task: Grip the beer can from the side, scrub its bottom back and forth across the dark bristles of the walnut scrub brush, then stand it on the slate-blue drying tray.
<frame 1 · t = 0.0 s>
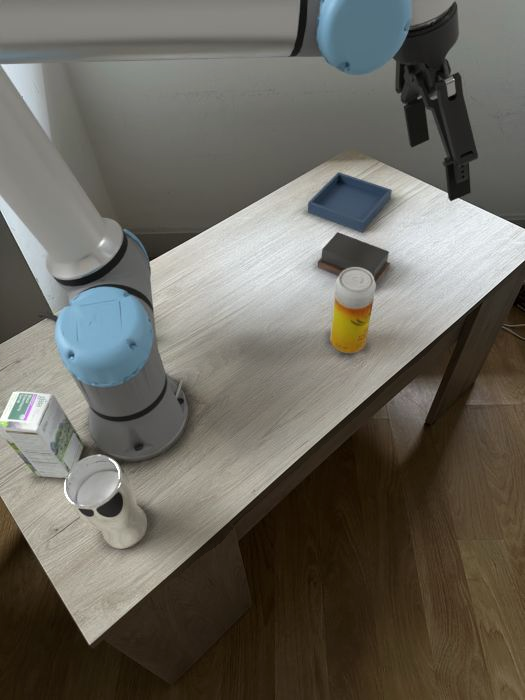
hand: (438, 167, 73), 28 cm above the table, tool tilted 20°, fingers open, 13 cm apart
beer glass: (125, 527, 71), on the table
scrub brush: (353, 268, 101), on the table
drying tray: (349, 206, 113), on the table
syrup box: (62, 461, 78), on the table
beer can: (347, 342, 90), on the table
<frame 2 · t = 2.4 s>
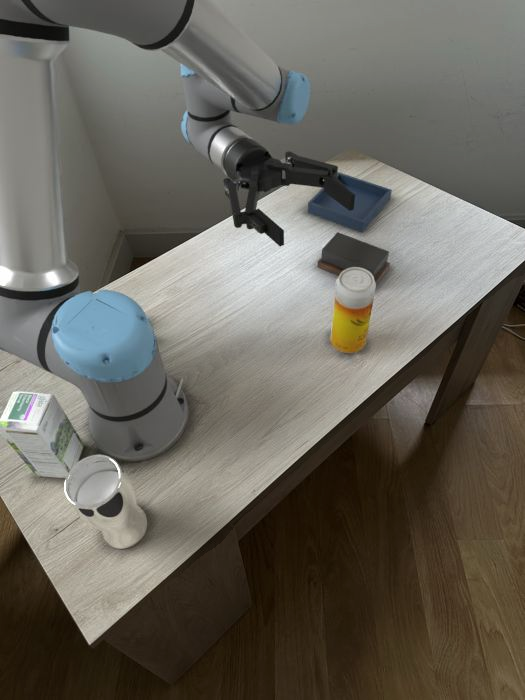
hand: (318, 220, 78), 20 cm above the table, tool horizontal, fingers open, 13 cm apart
nothing on the table moved.
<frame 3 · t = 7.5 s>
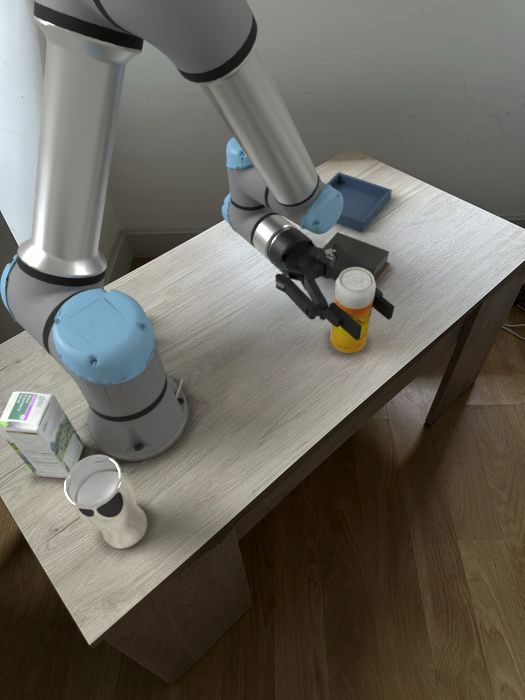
hand: (375, 323, 80), 9 cm above the table, tool horizontal, fingers closed on beer can, 6 cm apart
beer can: (347, 342, 90), on the table, touching gripper
everything else where it was.
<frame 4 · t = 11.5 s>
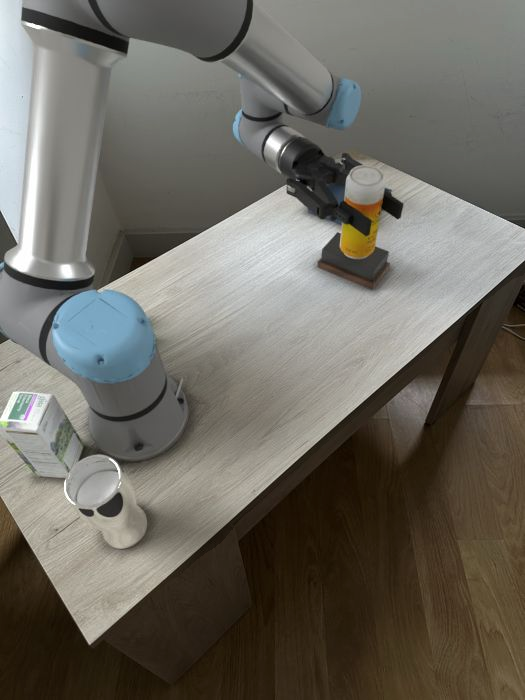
hand: (384, 219, 81), 18 cm above the table, tool horizontal, fingers closed on beer can, 6 cm apart
beer can: (356, 250, 92), point 8 cm above the table, touching gripper
everything else where it was.
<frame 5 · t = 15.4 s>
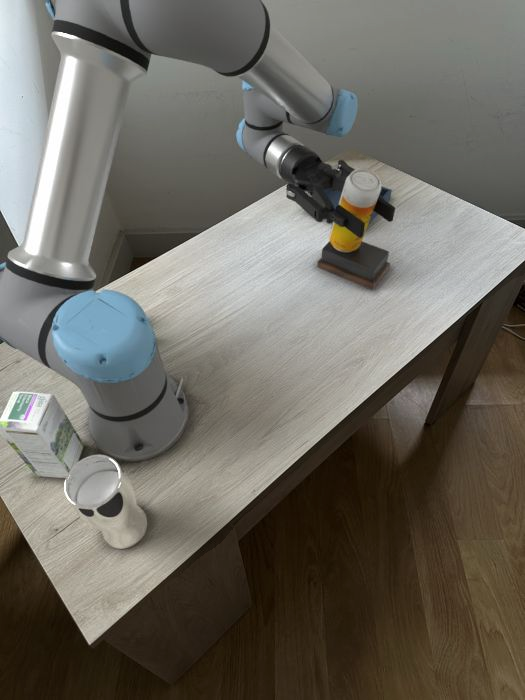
hand: (377, 222, 88), 14 cm above the table, tool horizontal, fingers closed on beer can, 6 cm apart
beer can: (343, 243, 98), point 5 cm above the table, touching gripper
everything else where it was.
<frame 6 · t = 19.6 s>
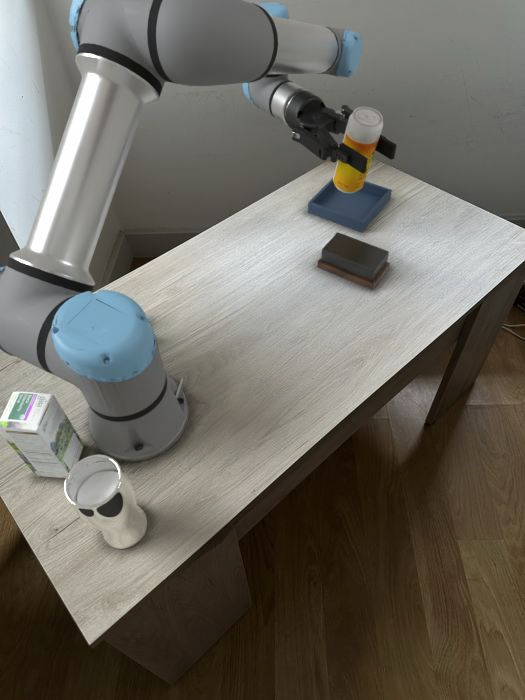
hand: (379, 159, 92), 18 cm above the table, tool horizontal, fingers closed on beer can, 6 cm apart
beer can: (346, 185, 102), point 9 cm above the table, touching gripper
everything else where it was.
when the fingers open (10 cm above the table, at t = 23.3 s): beer can stays where it is, resting on drying tray.
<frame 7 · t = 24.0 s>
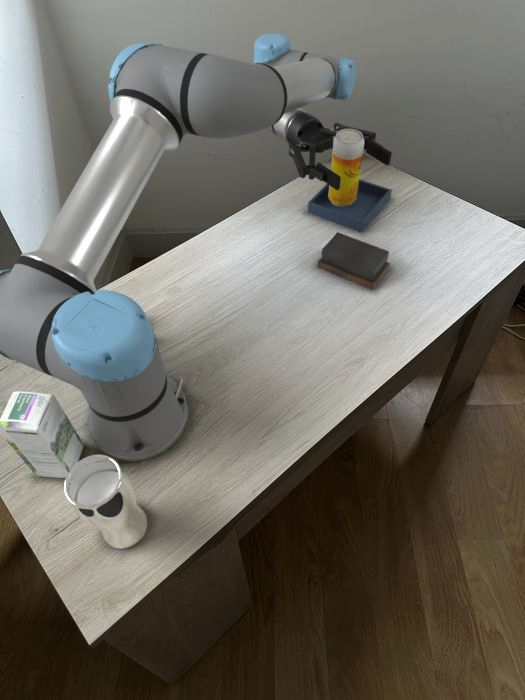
hand: (364, 171, 104), 10 cm above the table, tool horizontal, fingers open, 13 cm apart
beer can: (341, 200, 114), resting on drying tray
everything else where it was.
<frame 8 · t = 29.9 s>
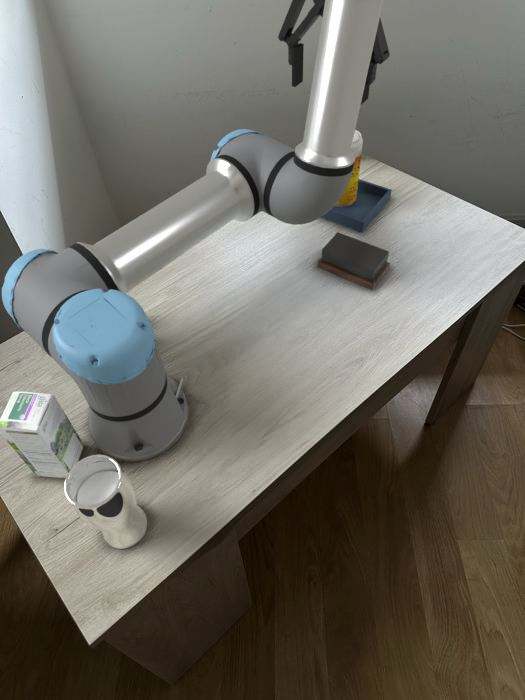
hand: (329, 92, 94), 25 cm above the table, tool pointing down, fingers open, 13 cm apart
nothing on the table moved.
at the end: beer can inside the target area in the drying tray (2.0 cm from its centre), point 0.4 cm above the drying tray's base; beer can tilted 0°; the gripper is holding nothing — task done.
